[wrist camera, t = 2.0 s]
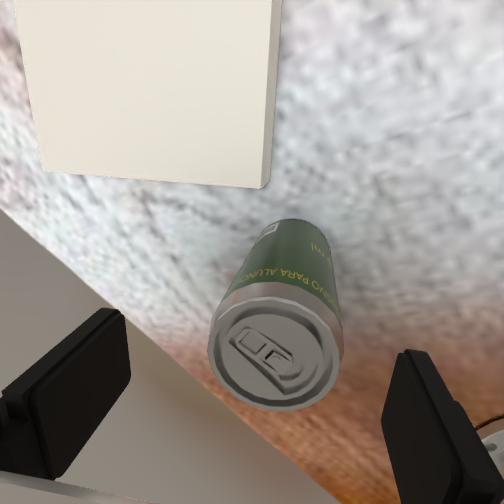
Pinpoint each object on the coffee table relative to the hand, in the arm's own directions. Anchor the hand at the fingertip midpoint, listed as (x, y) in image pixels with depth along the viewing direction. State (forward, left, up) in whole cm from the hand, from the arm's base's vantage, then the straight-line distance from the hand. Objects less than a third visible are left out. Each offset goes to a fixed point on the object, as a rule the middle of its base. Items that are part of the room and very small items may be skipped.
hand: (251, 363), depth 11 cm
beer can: (0, -1, -13) cm, 13 cm away
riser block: (+12, +8, -13) cm, 19 cm away
